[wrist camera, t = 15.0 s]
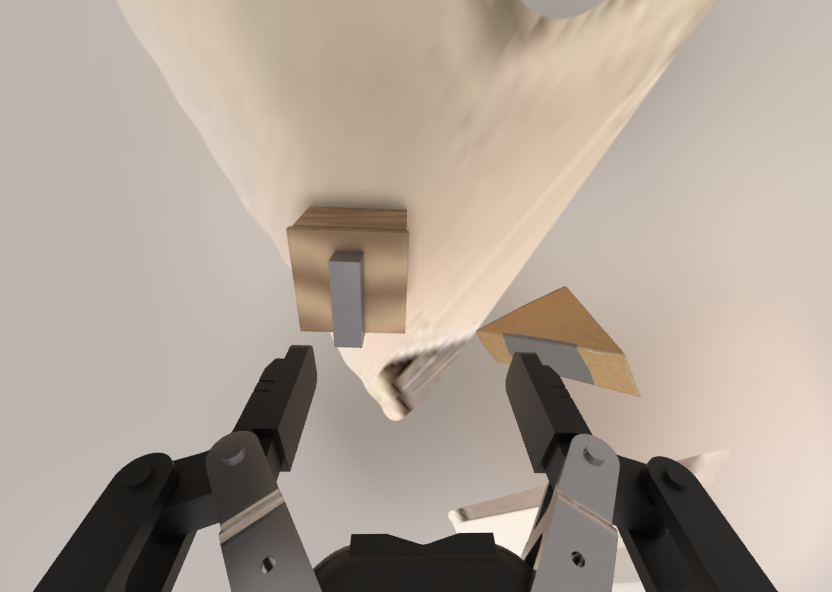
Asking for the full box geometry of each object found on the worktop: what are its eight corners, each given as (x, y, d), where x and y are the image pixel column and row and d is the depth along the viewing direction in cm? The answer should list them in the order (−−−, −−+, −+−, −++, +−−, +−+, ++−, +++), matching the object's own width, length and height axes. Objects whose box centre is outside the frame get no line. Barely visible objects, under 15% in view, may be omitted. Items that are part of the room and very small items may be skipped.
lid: (289, 226, 32) (286, 228, 31) (408, 230, 33) (408, 233, 32) (303, 326, 38) (300, 331, 37) (405, 329, 38) (405, 333, 37)
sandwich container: (472, 330, 50) (495, 408, 37) (564, 284, 46) (626, 354, 33) (495, 362, 54) (523, 442, 41) (582, 322, 50) (643, 398, 37)
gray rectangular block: (334, 250, 32) (328, 261, 30) (363, 252, 33) (359, 262, 30) (340, 331, 37) (334, 347, 34) (365, 331, 37) (361, 347, 34)
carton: (310, 206, 38) (292, 225, 32) (406, 210, 39) (406, 229, 33) (321, 289, 45) (308, 318, 39) (403, 291, 45) (403, 320, 39)
